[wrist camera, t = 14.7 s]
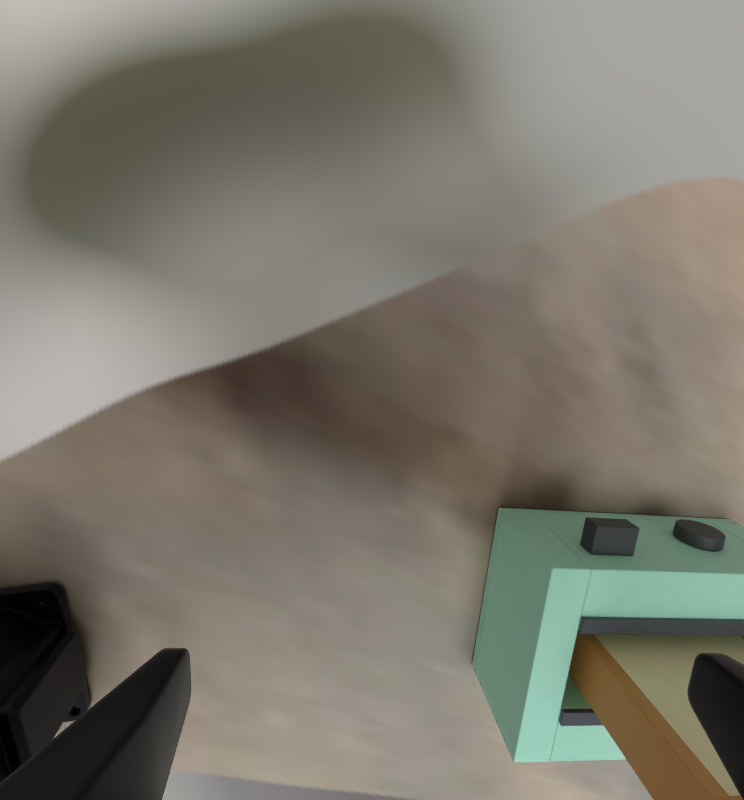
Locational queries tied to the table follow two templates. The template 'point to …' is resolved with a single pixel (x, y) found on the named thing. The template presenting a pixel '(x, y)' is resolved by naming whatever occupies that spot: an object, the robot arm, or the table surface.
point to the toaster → (591, 611)
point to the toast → (655, 708)
